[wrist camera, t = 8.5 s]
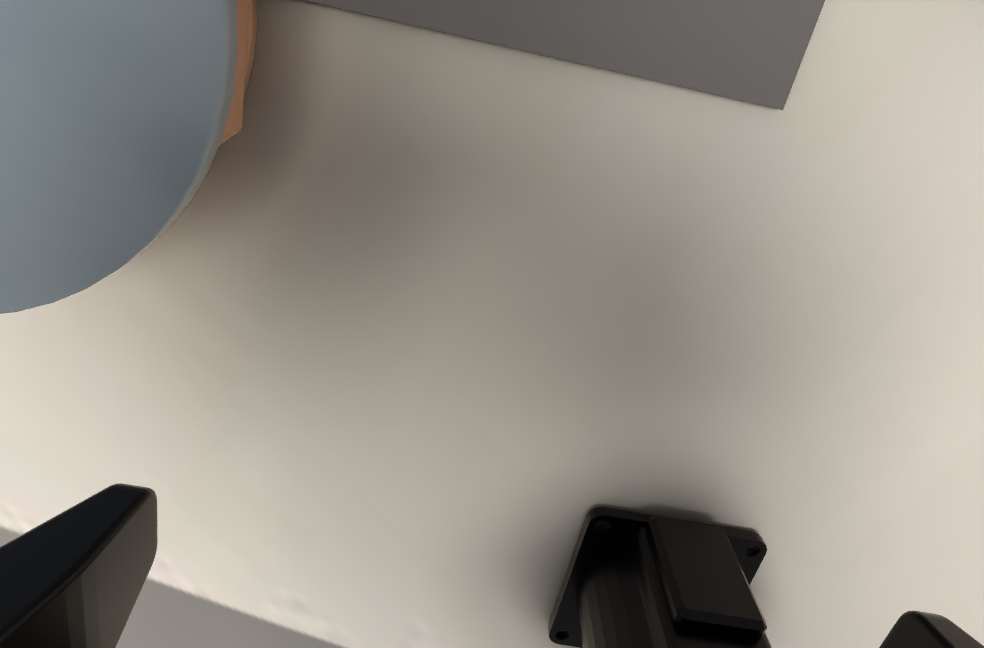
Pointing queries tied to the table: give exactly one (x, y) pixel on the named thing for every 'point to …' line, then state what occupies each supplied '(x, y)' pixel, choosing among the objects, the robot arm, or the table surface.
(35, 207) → the lid
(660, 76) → the mat
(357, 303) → the table surface
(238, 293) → the table surface
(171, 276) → the table surface
